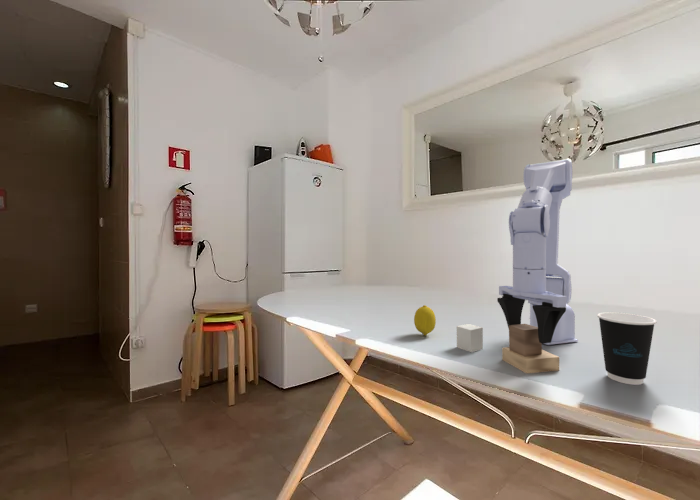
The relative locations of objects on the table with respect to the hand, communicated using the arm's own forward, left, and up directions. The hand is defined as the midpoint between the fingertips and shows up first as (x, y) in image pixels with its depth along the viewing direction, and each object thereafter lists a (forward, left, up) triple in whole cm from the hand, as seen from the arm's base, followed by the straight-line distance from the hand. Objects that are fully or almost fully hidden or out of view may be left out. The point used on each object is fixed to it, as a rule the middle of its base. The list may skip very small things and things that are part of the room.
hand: (528, 336), depth 63 cm
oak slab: (0, 0, -6) cm, 6 cm away
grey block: (+5, -12, -6) cm, 14 cm away
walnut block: (+1, 0, -3) cm, 3 cm away
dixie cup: (-11, +10, -6) cm, 16 cm away
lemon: (+10, -24, -6) cm, 27 cm away
